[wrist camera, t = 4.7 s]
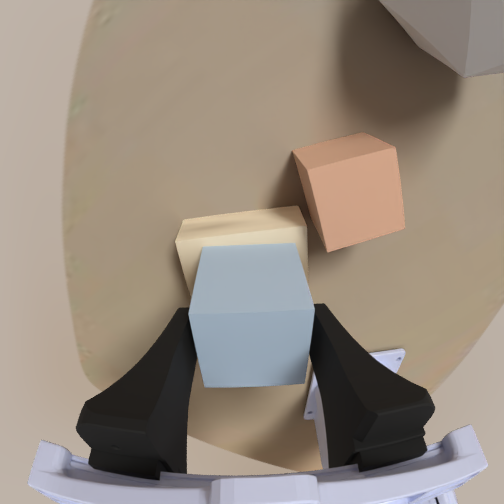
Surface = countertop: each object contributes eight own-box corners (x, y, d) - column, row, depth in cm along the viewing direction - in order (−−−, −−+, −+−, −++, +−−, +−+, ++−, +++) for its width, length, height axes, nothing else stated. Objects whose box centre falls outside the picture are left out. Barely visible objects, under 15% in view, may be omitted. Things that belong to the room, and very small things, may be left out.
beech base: (301, 293, 21) (308, 323, 18) (206, 303, 21) (201, 334, 18) (296, 202, 17) (306, 225, 15) (184, 216, 18) (175, 241, 15)
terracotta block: (374, 198, 17) (405, 228, 13) (310, 216, 17) (327, 252, 14) (362, 131, 15) (395, 147, 12) (291, 150, 16) (307, 169, 12)
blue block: (291, 313, 17) (304, 383, 13) (212, 316, 17) (204, 387, 13) (295, 242, 15) (314, 309, 11) (202, 246, 15) (188, 313, 11)
